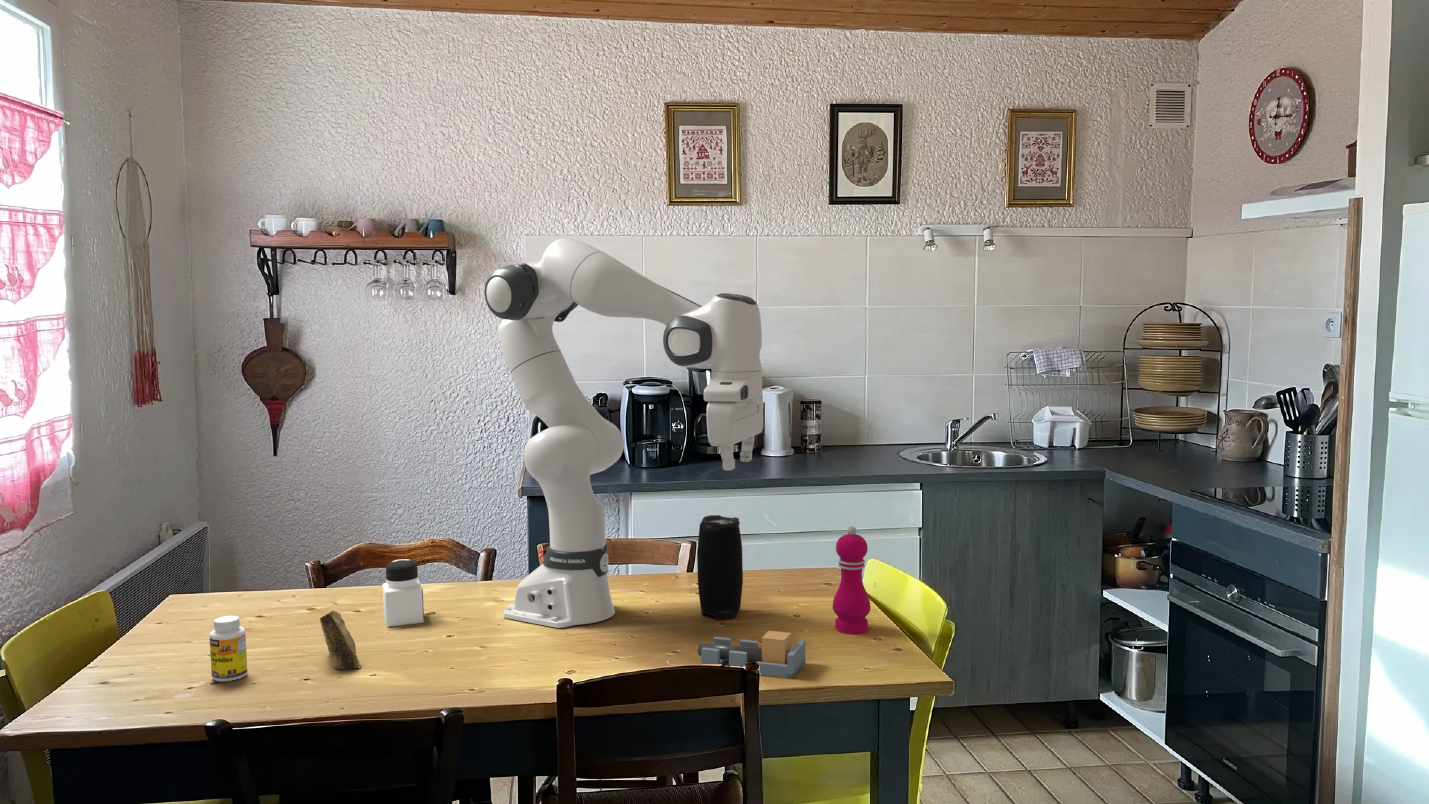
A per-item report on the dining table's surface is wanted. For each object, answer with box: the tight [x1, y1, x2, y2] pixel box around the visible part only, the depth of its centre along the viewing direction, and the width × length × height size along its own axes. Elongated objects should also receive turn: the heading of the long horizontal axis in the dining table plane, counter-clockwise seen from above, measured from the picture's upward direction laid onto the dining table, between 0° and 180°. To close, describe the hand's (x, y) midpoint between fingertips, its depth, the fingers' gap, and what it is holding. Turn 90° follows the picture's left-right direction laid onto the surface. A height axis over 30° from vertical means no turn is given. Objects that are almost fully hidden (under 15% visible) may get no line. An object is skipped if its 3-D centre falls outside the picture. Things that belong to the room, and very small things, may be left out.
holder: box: [755, 639, 806, 680], centre depth 181 cm, size 7×8×4 cm
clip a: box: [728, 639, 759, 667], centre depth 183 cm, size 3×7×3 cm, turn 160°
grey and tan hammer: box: [697, 630, 792, 665], centre depth 183 cm, size 16×4×5 cm, turn 70°
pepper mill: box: [832, 525, 872, 635], centre depth 201 cm, size 7×7×20 cm
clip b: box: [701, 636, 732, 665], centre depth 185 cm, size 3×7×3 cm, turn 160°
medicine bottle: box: [382, 558, 425, 628], centre depth 210 cm, size 7×7×12 cm
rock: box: [319, 610, 362, 670], centre depth 188 cm, size 11×9×10 cm
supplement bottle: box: [209, 615, 248, 682], centre depth 180 cm, size 6×6×10 cm
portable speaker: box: [696, 514, 744, 621], centre depth 211 cm, size 9×9×20 cm
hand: (737, 465), depth 186 cm, fingers open, 8 cm apart
